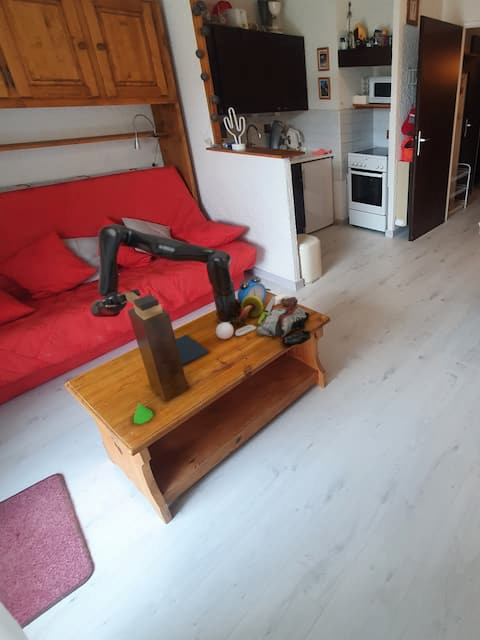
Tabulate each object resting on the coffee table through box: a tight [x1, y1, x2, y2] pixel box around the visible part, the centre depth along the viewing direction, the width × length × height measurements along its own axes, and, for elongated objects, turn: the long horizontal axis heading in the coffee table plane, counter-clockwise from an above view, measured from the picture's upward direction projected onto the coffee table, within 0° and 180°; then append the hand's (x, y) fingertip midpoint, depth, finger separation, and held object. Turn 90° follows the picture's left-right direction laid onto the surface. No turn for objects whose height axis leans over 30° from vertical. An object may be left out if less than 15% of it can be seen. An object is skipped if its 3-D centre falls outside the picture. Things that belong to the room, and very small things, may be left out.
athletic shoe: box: [275, 305, 310, 338], centre depth 168 cm, size 12×25×12 cm
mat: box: [175, 334, 209, 367], centre depth 157 cm, size 12×18×1 cm, turn 50°
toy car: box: [282, 329, 312, 348], centre depth 162 cm, size 6×12×4 cm, turn 100°
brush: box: [124, 292, 163, 320], centre depth 125 cm, size 6×18×5 cm, turn 50°
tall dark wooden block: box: [127, 307, 189, 403], centre depth 130 cm, size 8×12×32 cm, turn 50°
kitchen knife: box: [256, 295, 275, 326], centre depth 184 cm, size 22×1×3 cm
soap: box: [234, 324, 258, 337], centre depth 170 cm, size 10×4×1 cm, turn 135°
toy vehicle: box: [272, 292, 292, 307], centre depth 195 cm, size 12×2×4 cm
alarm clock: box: [237, 275, 267, 305], centre depth 187 cm, size 13×6×15 cm, turn 143°
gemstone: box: [133, 403, 154, 425], centre depth 124 cm, size 6×6×6 cm
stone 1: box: [255, 308, 287, 338], centre depth 174 cm, size 22×3×10 cm
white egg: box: [215, 322, 235, 340], centre depth 164 cm, size 10×7×7 cm
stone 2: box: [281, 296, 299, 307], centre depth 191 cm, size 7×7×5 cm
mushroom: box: [230, 295, 265, 326], centre depth 175 cm, size 12×12×15 cm
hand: (122, 296), depth 138 cm, fingers open, 8 cm apart
